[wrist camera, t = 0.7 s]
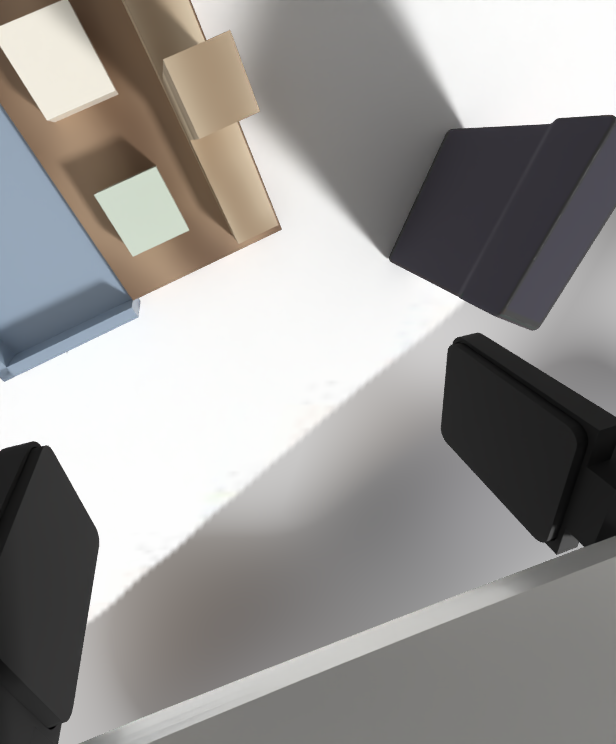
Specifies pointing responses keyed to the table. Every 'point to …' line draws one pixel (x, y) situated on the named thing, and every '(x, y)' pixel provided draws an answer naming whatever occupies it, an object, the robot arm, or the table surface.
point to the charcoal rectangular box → (512, 213)
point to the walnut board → (122, 150)
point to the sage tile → (142, 211)
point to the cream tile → (56, 61)
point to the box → (47, 267)
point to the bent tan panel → (207, 106)
